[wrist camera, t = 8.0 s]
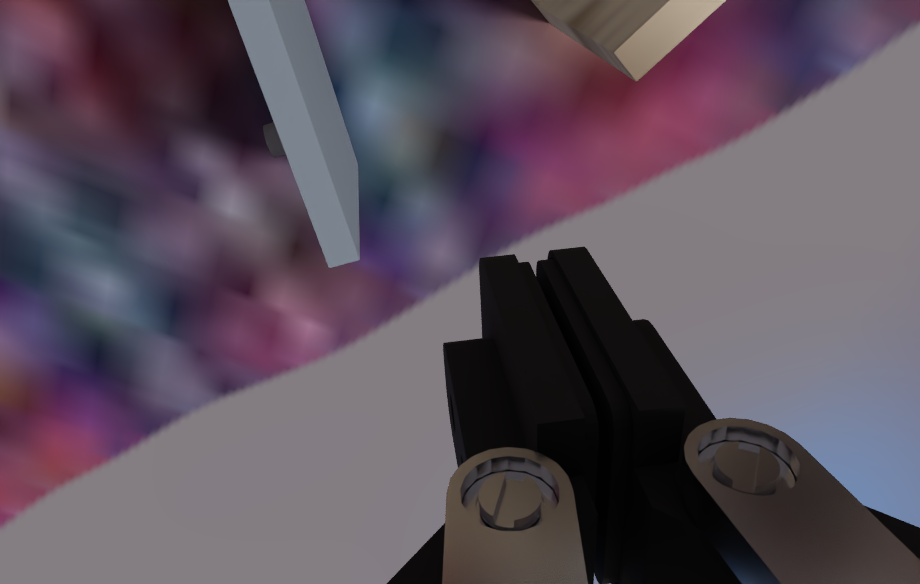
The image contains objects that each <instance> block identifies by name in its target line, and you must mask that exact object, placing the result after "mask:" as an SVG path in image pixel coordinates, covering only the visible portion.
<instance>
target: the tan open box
mask: <svg viewBox="0 0 920 584" xmlns="http://www.w3.org/2000/svg"><path fill="white" fill-rule="evenodd" d="M531 1H532V2H533V3H534V5H535V6H536V7H537V8H538V10H539V11H540V12H541V13H542V14H543V16H544V17H545V18H546V19H547V21H548V22H549V23H550V24H551V25H553V26H554V27H556V28H557V29H559V30H560V31H562V32H563V33H565V34H566V35H568V36H569V37H571V38H572V39H574V40H575V41H577V42H578V43H580V44H581V45H583V46H584V47H586V48H587V49H589V50H590V51H592V52H593V53H595V54H596V55H598V56H599V57H600V58H602V59H603V60H605V61H606V62H608V63H609V64H611V65H612V66H614V67H615V68H617V69H618V70H620V71H621V72H623V73H624V74H626V75H627V76H629V77H630V78H632V79H633V80H635V81H636V82H637V81H638V80H639V79H640V78H641V77H642V76H643V75H644V74H645V73H646V72H648V71H649V70H650V69H651V68H652V67H653V66H654V65H655V64H656V63H658V62H659V61H660V60H661V59H662V58H663V57H664V56H665V55H666V54H667V53H669V52H670V51H671V50H672V49H673V48H674V47H675V46H676V45H677V44H678V43H680V42H681V41H682V40H683V39H684V38H685V37H686V36H687V35H688V34H689V33H691V32H692V31H693V30H694V29H695V28H696V27H697V26H698V25H699V24H700V23H702V22H703V21H704V20H705V19H706V18H707V17H708V16H709V15H710V14H711V13H713V12H714V11H715V10H716V9H717V8H718V7H719V6H720V5H721V4H722V3H724V2H725V1H726V0H531Z"/></svg>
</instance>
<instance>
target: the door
mask: <svg viewBox="0 0 920 584" xmlns="http://www.w3.org/2000/svg"><path fill="white" fill-rule="evenodd" d="M228 2H229V5H230V8H231V10H232V13H233V16H234V18H235V21H236V24H237V26H238V29H239V31H240V34H241V37H242V39H243V42H244V45H245V47H246V50H247V53H248V55H249V58H250V61H251V63H252V66H253V68H254V71H255V74H256V76H257V79H258V82H259V84H260V87H261V90H262V92H263V95H264V97H265V100H266V103H267V105H268V108H269V111H270V113H271V116H272V119H273V121H274V122H273V123H270V124H266V125H263V133H264V137H265V141H266V144H267V146H268V149H269V151H270V153H271V155H272V156H273V157H278V156H282V155H286V156H287V158H288V161H289V163H290V166H291V169H292V171H293V174H294V177H295V179H296V182H297V185H298V187H299V190H300V193H301V195H302V198H303V200H304V203H305V206H306V208H307V211H308V214H309V216H310V219H311V222H312V224H313V227H314V229H315V232H316V235H317V237H318V240H319V243H320V245H321V248H322V251H323V253H324V256H325V259H326V261H327V264H328V266H329V268H331V267H335V266H339V265H342V264H346V263H350V262H354V261H357V260H360V254H359V197H358V164H357V160H356V157H355V154H354V151H353V148H352V145H351V142H350V139H349V136H348V133H347V130H346V127H345V123H344V120H343V117H342V114H341V111H340V108H339V105H338V102H337V99H336V96H335V93H334V89H333V86H332V83H331V80H330V77H329V74H328V71H327V68H326V65H325V62H324V59H323V56H322V52H321V49H320V46H319V43H318V40H317V37H316V34H315V31H314V28H313V25H312V22H311V19H310V15H309V12H308V9H307V6H306V3H305V0H228Z"/></svg>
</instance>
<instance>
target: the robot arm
mask: <svg viewBox="0 0 920 584" xmlns="http://www.w3.org/2000/svg"><path fill="white" fill-rule="evenodd" d="M479 275H480V295H481V317H482V338H481V339H473V340H466V341H457V342H448V343H444V345H443V352H444V365H445V377H446V389H447V398H448V407H449V414H450V422H451V429H452V436H453V442H454V447H455V453H456V459H457V464H458V469H457V470H456V472H455V473H454V474H453V476H452V477H451V479H450V482H449V486H448V490H447V499H446V518H445V519H446V520H445V524H444V525H443V526H442V527H441V528H440V529H439V530H438V531H437V532H436V533H435V534H434V535H433V536H432V537H431V538H430V539H429V540H428V541H427V542H426V543H425V544H424V545H423V546H422V547H421V549H420V550H419V551H418V552H417V553H416V554H415V555H414V556H413V557H412V558H411V559H410V560H409V561H408V562H407V563H406V564H405V565H404V566H403V567H402V568H401V569H400V570H399V571H398V573H397V574H396V575H395V576H394V577H393V578H392V579H391V580H390V581H389V582H388V583H387V584H593V581H594V574H595V576H596V579H597V581H598V582H599V584H609V583H611V584H920V528H919V527H916V526H914V525H911V524H909V523H906V522H904V521H901V520H899V519H896V518H894V517H891V516H889V515H886V514H884V513H881V512H879V511H876V510H874V509H871V508H869V507H866V506H864V505H862V504H861V503H860V502H859V501H858V500H857V499H856V498H855V497H854V496H853V495H852V494H851V493H850V492H849V491H848V490H847V489H846V488H845V487H844V486H843V485H842V484H841V483H840V482H839V481H838V480H837V479H835V477H833V476H832V475H831V474H830V473H829V472H828V471H827V470H826V469H825V468H824V467H823V466H822V465H821V464H820V463H819V462H818V461H817V460H816V459H815V458H814V457H813V456H812V455H811V454H810V453H808V451H807V450H806V449H804V448H803V447H802V446H801V445H800V444H799V443H798V442H796V441H795V440H794V439H792V438H791V437H790V436H788V435H787V434H786V433H784V432H782V431H779V430H778V429H775V428H773V427H771V426H769V425H767V424H763V423H759V422H756V421H752V420H748V419H736V418H726V419H716V418H715V416H714V415H713V413H712V412H711V410H710V409H709V408H708V406H707V405H706V404H705V402H704V401H703V399H702V397H701V396H700V394H699V393H698V391H697V390H696V389H695V387H694V385H693V384H692V382H691V381H690V379H689V378H688V377H687V375H686V374H685V372H684V371H683V369H682V368H681V366H680V365H679V363H678V362H677V360H676V359H675V357H674V356H673V354H672V353H671V351H670V350H669V349H668V347H667V346H666V344H665V343H664V341H663V340H662V338H661V337H660V335H659V334H658V332H657V331H656V329H655V328H654V327H653V325H652V324H651V323H650V322H649V321H648V320H644V319H642V320H633V321H632V319H631V318H630V316H629V314H628V313H627V311H626V310H625V308H624V307H623V305H622V303H621V302H620V300H619V299H618V297H617V296H616V294H615V293H614V291H613V289H612V288H611V286H610V285H609V283H608V281H607V280H606V278H605V277H604V275H603V274H602V272H601V270H600V269H599V267H598V266H597V264H596V263H595V261H594V259H593V258H592V256H591V255H590V253H589V252H588V250H587V249H586V248H585V247H577V248H568V249H560V250H550V251H549V254H548V260H541V261H538V262H537V269H536V276H535V274H534V272H533V270H532V267H531V265H530V263H529V262H522V263H518V260H517V258H516V256H515V255H514V254H513V255H504V256H495V257H485V258H480V261H479Z"/></svg>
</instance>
